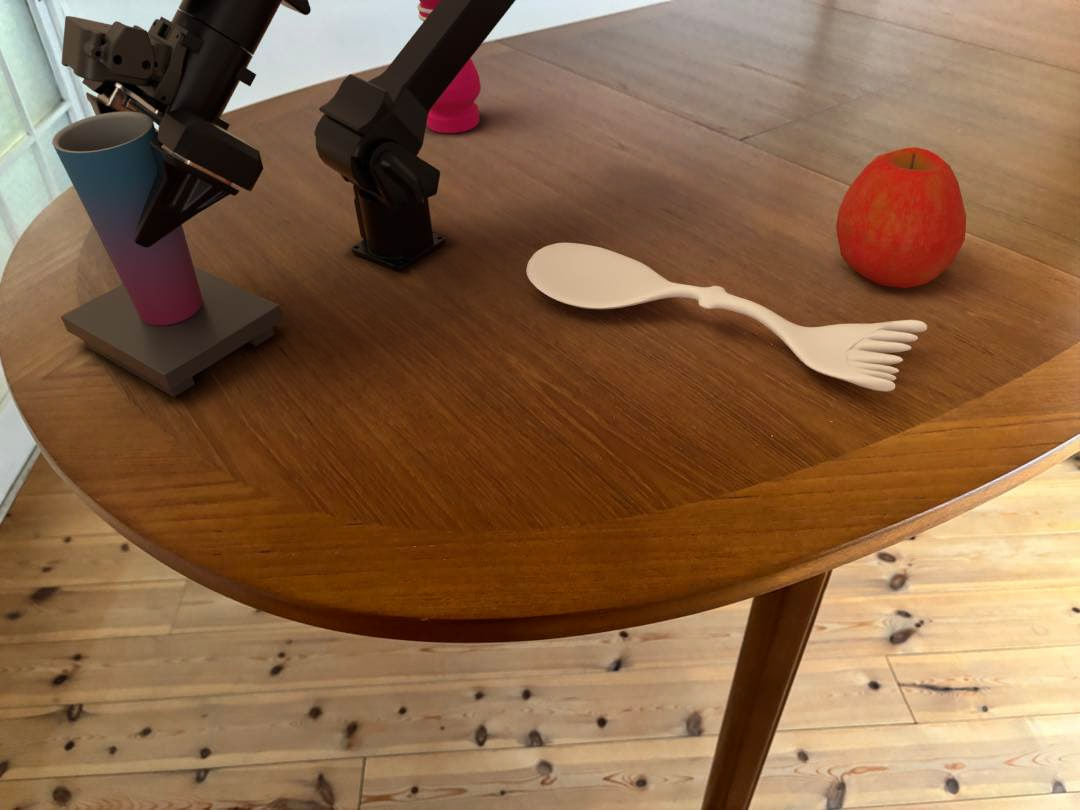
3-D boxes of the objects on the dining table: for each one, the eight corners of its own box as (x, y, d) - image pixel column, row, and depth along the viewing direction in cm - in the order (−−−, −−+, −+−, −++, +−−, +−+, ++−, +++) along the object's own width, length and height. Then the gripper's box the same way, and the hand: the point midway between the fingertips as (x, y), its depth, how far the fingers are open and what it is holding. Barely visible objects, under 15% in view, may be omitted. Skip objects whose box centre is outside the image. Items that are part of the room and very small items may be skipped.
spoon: (885, 421, 64) (895, 382, 62) (508, 300, 78) (505, 265, 76) (920, 354, 70) (930, 316, 68) (563, 253, 84) (562, 219, 82)
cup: (230, 290, 75) (172, 115, 66) (180, 338, 71) (110, 156, 61) (162, 279, 77) (96, 107, 68) (109, 325, 73) (30, 147, 63)
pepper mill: (492, 128, 107) (477, -60, 94) (432, 140, 105) (408, -50, 92) (472, 107, 112) (455, -74, 99) (415, 118, 110) (390, -65, 97)
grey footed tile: (287, 335, 76) (279, 304, 74) (176, 406, 69) (164, 374, 67) (184, 286, 82) (174, 256, 81) (73, 346, 76) (60, 316, 74)
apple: (845, 228, 85) (865, 119, 78) (962, 250, 81) (994, 138, 74) (816, 282, 78) (836, 168, 72) (943, 309, 74) (976, 191, 68)
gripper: (64, -59, 65) (-32, 135, 67) (166, -8, 54) (48, 223, 56) (199, 29, 74) (111, 198, 76) (312, 88, 63) (205, 285, 65)
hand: (116, 222), depth 68 cm, fingers open, 9 cm apart
